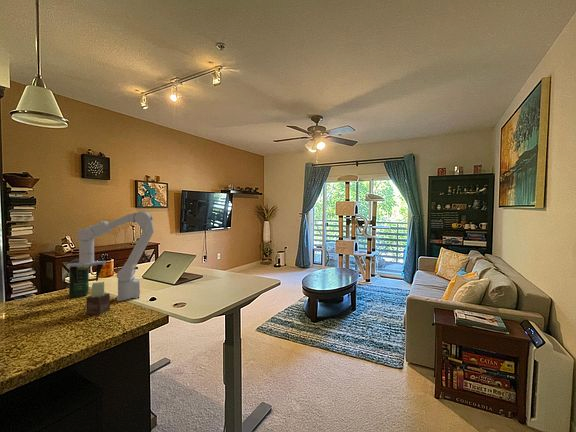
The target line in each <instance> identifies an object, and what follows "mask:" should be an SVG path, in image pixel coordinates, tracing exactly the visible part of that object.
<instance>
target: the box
mask: <svg viewBox="0 0 576 432" xmlns="http://www.w3.org/2000/svg"><path fill="white" fill-rule="evenodd" d="M110 295H111V294H110V293H106V292H104V296H99V297H92V294H91V295H89V296H86V298H85V299H86V303H85V304H86V315H95V316H96V315H97V316H98V315H102V314H105V313H106V312H108V311H110V309H111V307H110V306H111V304H110V299H111V297H110Z"/></svg>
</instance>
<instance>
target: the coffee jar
mask: <svg viewBox="0 0 576 432" xmlns="http://www.w3.org/2000/svg"><path fill="white" fill-rule="evenodd" d="M78 262H79V257H78V258H74V259H72V260H70V261H69V263H68V264H70V263H78ZM82 266H85V265H82ZM89 267H90V266H87V267H78V273H77V275H78V283H76V282H75V279H74V276H73V274H72V273H71V271H70V268H68V271H69V274H68V275H69V276H68V279H69V284H68V286H69V287H68V288H69V289H68V294H69V295H68V296H69V297H70V298H80V297H84V296H86V295H88V294H89V288H90V287H89V285H90V284H89V279H90V277H89V275H90V271H89V270H90V268H89Z"/></svg>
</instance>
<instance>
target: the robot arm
mask: <svg viewBox="0 0 576 432" xmlns="http://www.w3.org/2000/svg"><path fill="white" fill-rule="evenodd" d="M126 223H127V224H128V223H136V224H137V225H138V226H139V227H140V229H141V234H140V235H139V238H138V239H137V242H136V244H135V245H134V247H133V249H132V250H131V253H130V254H129V256H128V258H127V260H126V262H124V265H123V266H122V268H121V269H119V270H118V271H117V273H116V277H117V296H116V301H117V302H121V301H128V300H127V299H129V300H131V299H130V298H136V299H139V298H138V297H140V294H141V289H140V286H141V285H140V278H135V276H134V275H135V273H136V267H137V265H138V262H139V261H140V258H141V257H142V255H143V253H144V252H145V249H146V247H147V246H148V244H149V242H150V241H151V238H152V236H153V234H154V232H155V228H154V227H155V225H154V218H153V217H152V215H151V213H150V212H148V211H146V210H143V211H142V210H141V211H138V212H132V213H129V214H126V215H123V216H121V217H119V218H116V219H114V220H112V221H107V220H100V221H98V223H95V224H93V225H91V224H90V225H87V227H83V228H81V229H80V230H78V231H77V234H76V236H77V238H78V240H79V241H78V243H79V244H78V254H79V255H78V256H79V257H78V258H79V262H78V263H70V262H69V263H70V264H69V263H67V265H66V269H69V268H70V271H71V273H72V274H73V276H74V279H75V282H76V283H78V275H77V273H78V267H87V266H89V267H95V273H96V274H95V282H98V281H99V280H98V279H99V276H100V273H101V270H102V269H103V266H106V260H95V238H97V237H100V236H103V235H104V234H109V233H111V231H112V230H113V228H116V227H118V226H122V225H124V224H126ZM82 265H85V266H82Z"/></svg>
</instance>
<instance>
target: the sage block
mask: <svg viewBox="0 0 576 432" xmlns="http://www.w3.org/2000/svg"><path fill="white" fill-rule="evenodd" d="M104 293H105V281H101V282H93V283H92V284H91V295H92V297H99V296H104Z"/></svg>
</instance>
